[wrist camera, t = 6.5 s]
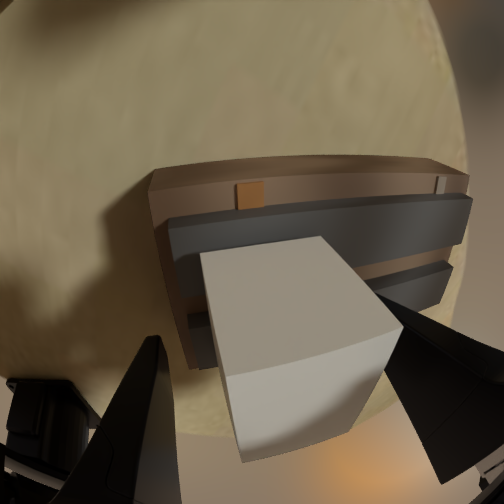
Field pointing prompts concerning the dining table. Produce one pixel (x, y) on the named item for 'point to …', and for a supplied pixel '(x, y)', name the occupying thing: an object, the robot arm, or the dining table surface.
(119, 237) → the dining table surface
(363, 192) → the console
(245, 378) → the block
